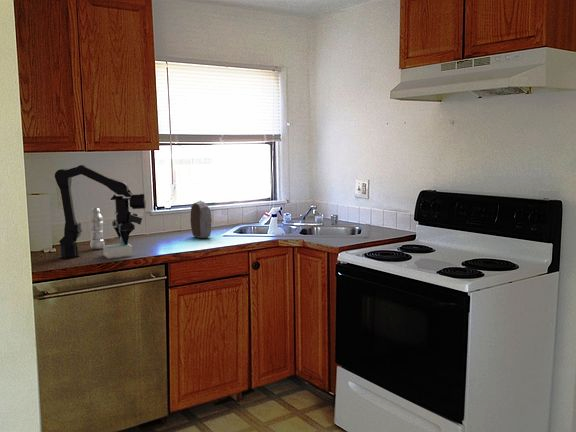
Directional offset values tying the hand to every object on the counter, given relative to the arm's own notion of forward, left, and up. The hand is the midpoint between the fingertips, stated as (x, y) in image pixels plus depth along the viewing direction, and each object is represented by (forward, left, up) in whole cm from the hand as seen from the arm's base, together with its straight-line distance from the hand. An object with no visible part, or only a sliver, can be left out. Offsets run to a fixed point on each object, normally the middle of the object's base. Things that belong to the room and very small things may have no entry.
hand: (124, 243), depth 253 cm
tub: (-2, +1, -5) cm, 6 cm away
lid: (-2, +1, -1) cm, 3 cm away
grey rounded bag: (+55, -1, -6) cm, 55 cm away
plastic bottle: (+5, +23, -6) cm, 25 cm away
